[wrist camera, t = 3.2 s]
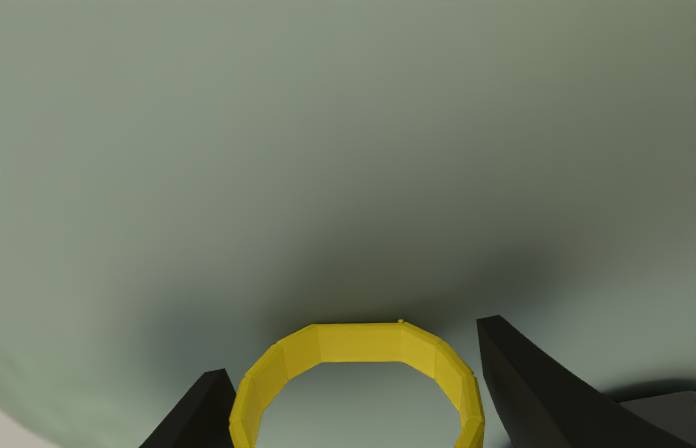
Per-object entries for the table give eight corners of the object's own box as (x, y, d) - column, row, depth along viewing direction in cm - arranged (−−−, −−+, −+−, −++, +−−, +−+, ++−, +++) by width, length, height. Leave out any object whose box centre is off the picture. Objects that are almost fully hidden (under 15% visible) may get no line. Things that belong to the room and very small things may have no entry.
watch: (451, 293, 12) (542, 493, 7) (448, 365, 13) (525, 587, 8) (252, 307, 12) (179, 516, 7) (266, 377, 13) (214, 606, 8)
